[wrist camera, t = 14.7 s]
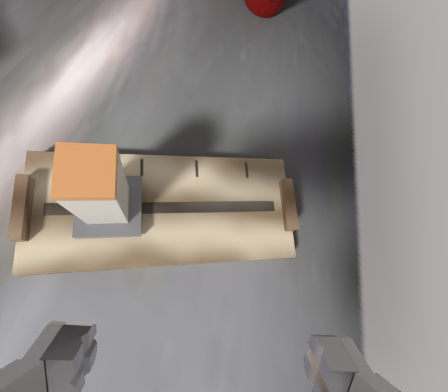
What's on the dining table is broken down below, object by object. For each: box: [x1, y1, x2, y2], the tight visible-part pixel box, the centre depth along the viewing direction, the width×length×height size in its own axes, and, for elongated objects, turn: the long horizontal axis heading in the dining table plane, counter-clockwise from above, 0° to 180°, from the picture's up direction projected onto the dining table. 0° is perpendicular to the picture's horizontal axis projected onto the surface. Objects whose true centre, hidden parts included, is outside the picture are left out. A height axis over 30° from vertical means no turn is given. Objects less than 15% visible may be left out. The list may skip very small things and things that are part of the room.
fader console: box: [7, 151, 299, 276], centre depth 30 cm, size 12×28×4 cm, turn 94°
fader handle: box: [50, 142, 142, 239], centre depth 22 cm, size 6×6×11 cm
